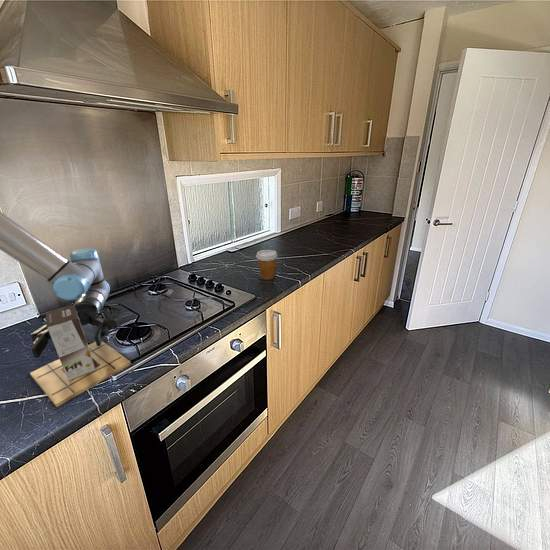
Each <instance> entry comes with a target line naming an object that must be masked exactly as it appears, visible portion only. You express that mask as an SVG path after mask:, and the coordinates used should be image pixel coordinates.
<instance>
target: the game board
mask: <svg viewBox="0 0 550 550" xmlns="http://www.w3.org/2000/svg"><path fill="white" fill-rule="evenodd" d="M88 346H89V350H90V353H91V356H92V360H93V364H94V367H95V370H94V371H92V372H89V373H87V374H84V375H82V376H79V377H76V378H74V379H72V380H68V379H67V377H66V374H65V371H64V369H63V366H62V364H61V361H60V359H59V358H58V359H56V360H54V361H52V362H49V363H48V364H45V365H44V366H41V367H39V368H37V369H35V370H33V371H31V372H29V375H30V376H31V378H32V379H33V380H34V382H35V383H36V384H37V385H38V387H40V389H41V390H42V391H43V392H44V394H45V395H46V396H47V397H48V398H49V400H50V401H51V402H52V403H53V405H54V406H55V407H56V408H58V407H60V406H61V405H63V404H65V403H67V402H69V401H70V400H71V399H74V398H75V397H77V396H78V395H80V394H82V393H84V392H85V391H87V390H89V389H91V388H93V387H94V386H96V385H97V384H100V383H101V382H103V381H104V380H106V379H108V378H110V377H111V376H113V375H115V374H117V373H119V372H120V371H122V370H124V369H125V368H127V367H129V366H130V365H132V362H131V360H129V359H128V358H126V357H125V356H123V354H121V353H119V352H118V351H117V350H115V349H114V348H112V346H109V344H108V343H106V342H104V341H103V340H102V343H101V346H97V344H96V341H94V342H91V343H90V344H88Z"/></svg>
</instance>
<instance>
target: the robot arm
mask: <svg viewBox="0 0 550 550" xmlns="http://www.w3.org/2000/svg"><path fill="white" fill-rule="evenodd" d="M0 251H1V252H3V253H4V254H6V255H8V256H9V257H10V258H12V259H14V260H15V261H17V262H18V263H20V264H22V265H23V266H24V267H26V268H27V269H29V270H31V271H32V272H33V273H34V274H36V275H38V276H39V277H41V278H42V279H44V280H46V282H49V283H50V284H51V285H53V286H52V290H53V292H54V293H55V295H56V296H57V297H58V298H60V299H62V300H64V301H75V302H74V303H73V305H74V306H75V309H76V311H77V314H78V317H79V320H80V323H81V326H86V325H90V326H93V327H94V326H95V327H97V330H96V333H95V335H94V337H93V338H94V340H95V341H94V342H96V344H97V346H101V343H102V341H103V340H104V337H106V336H108V334H109V332H110V330H111V329H118V328H119V327H118V323H117V319H116V318H115V316H114V315H112V313H111V312H110V310H109V307H104V306H105V304H106V301H107V299H108V297H109V295H110V293H111V292H110V291H111V287H110V284H109V283H108V281H106V279H105V277H104V272H103V269H102V265H101V261H100V260H101V259H100V257H99V253H98V251H97V250H96V249H95V248H93V247H89V248H88V247H85V248H78V249H76V250H73V251H71V252H70V253H69V254H70V255H69V257H70V260H68V259H67V258H66V257H64V256H63V255H61V254H60V253H59V252H57V250H54V249H53V248H52V247H50V246H49V245H48V244H46V243H45V242H43V241H42V240H40V239H39V238H38V237H36V236H35V235H33V234H32V233H31V232H30V231H28V230H27V229H26V228H24V227H23V226H21V225H20V224H19V223H17V222H15V220H13V219H12V218H11V217H9V216H7V215H6V214H4V213H3V212H2V211H0ZM30 337H31V339H32V342H33V343H32V345H33V346H32V347H31V349H30V350H31V352H32V354H33V357H34V358H35V359H38V358H40V356H41V355H42V354H43V352H44V350H45V348H46V347H47V346H48V344H49V341H50V340H52V338H51V336H50V333H49V331H48V328H47V324H46V323H45V324H44V325H42V326H40V327H39V328H38V329H36V330H34V331H33V332H31V333H30Z"/></svg>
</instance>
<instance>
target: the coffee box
mask: <svg viewBox="0 0 550 550" xmlns="http://www.w3.org/2000/svg"><path fill="white" fill-rule="evenodd" d="M45 319H46V320H45V322H46V323H45V324H47V328H48V331H49V333H50V336H51V340H52V344H53V345H54V348H55V351H56V353H57V356H58V359H60V361H61V364H62V366H63V369H64V371H65V374H66V377H67V379H68V380H72V379H74V378H76V377H79V376H82V375H84V374H87V373H89V372H92V371H94V370H95V367H94V364H93V360H92V356H91V353H90V350H89V346H88V345H89V344H88V343H89V342H88V341H87V338H86V334H85V331H84V329H83V325H81V323H80V320H79V317H78V314H77V311H76V309H75V306H74V304H72V305H67V306H63V307H60V308H56V309H54V310H51V311H46V312H45Z"/></svg>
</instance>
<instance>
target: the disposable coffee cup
mask: <svg viewBox="0 0 550 550" xmlns="http://www.w3.org/2000/svg"><path fill="white" fill-rule="evenodd" d="M278 256H279V255H278V253H277V251H276V250H272V249H262V250H259V251H257V252H256V255H255V258H256V259H257V264H258V270H259V276H260V278H261V279H262V280H272V279H274V278H275V276H276V268H277V258H278Z"/></svg>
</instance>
